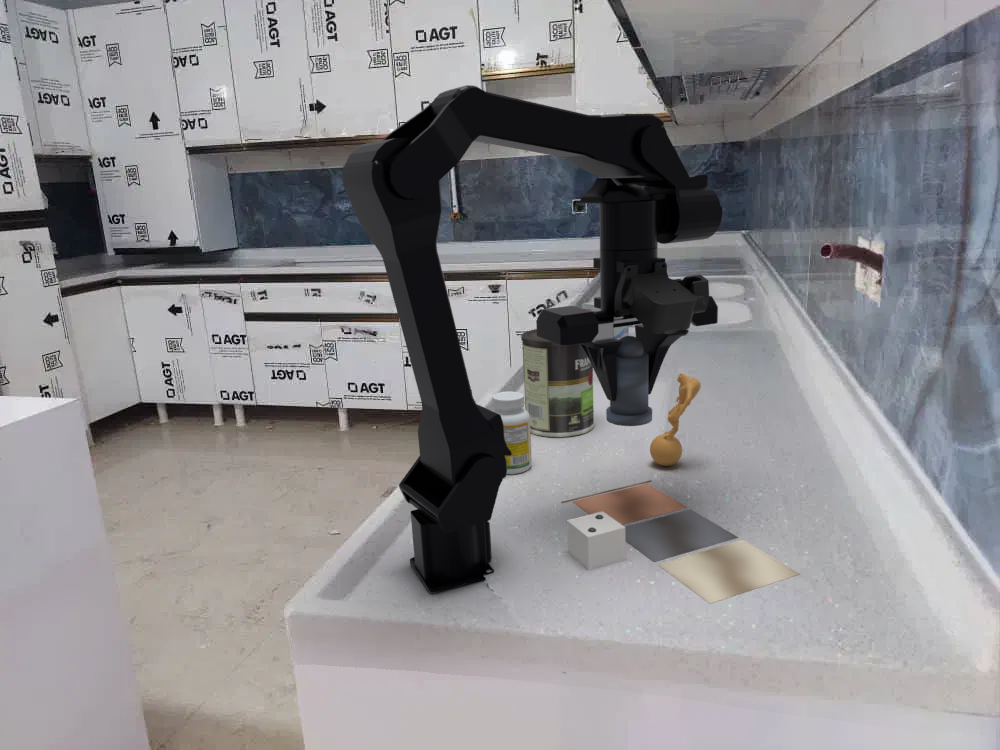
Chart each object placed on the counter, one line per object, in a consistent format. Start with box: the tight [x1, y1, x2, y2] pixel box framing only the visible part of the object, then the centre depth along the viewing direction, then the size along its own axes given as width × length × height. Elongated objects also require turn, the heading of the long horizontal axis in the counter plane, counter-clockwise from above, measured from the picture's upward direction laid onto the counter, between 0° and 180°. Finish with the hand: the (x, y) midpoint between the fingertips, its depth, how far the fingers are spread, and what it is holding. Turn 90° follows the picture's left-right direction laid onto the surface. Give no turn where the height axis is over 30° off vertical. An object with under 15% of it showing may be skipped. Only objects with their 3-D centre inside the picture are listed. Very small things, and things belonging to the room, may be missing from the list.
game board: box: [561, 480, 801, 605], centre depth 75 cm, size 12×25×1 cm, turn 24°
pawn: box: [605, 335, 653, 427], centre depth 78 cm, size 5×5×9 cm
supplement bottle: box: [491, 391, 533, 475], centre depth 95 cm, size 5×5×10 cm
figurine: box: [649, 372, 701, 467], centre depth 92 cm, size 8×6×12 cm
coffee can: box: [520, 328, 595, 438], centre depth 109 cm, size 10×10×14 cm
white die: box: [566, 511, 627, 571], centre depth 71 cm, size 4×4×4 cm
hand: (629, 397), depth 79 cm, fingers closed on pawn, 4 cm apart
